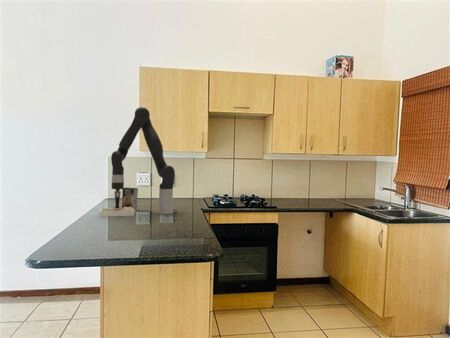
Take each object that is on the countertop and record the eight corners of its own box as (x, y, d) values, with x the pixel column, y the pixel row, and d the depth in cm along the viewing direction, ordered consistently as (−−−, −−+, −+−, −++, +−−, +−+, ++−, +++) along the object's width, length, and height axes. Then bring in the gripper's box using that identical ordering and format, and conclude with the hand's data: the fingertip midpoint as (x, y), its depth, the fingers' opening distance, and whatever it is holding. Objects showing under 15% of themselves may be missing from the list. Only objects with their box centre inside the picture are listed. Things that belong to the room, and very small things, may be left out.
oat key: (131, 211, 213) (131, 207, 212) (131, 212, 208) (131, 208, 208) (123, 211, 211) (123, 207, 211) (123, 213, 206) (123, 208, 206)
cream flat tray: (133, 213, 214) (133, 208, 214) (134, 215, 207) (134, 210, 207) (100, 214, 208) (100, 209, 207) (99, 216, 200) (99, 211, 200)
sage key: (110, 211, 208) (111, 207, 208) (110, 213, 203) (110, 208, 203) (102, 212, 207) (102, 207, 207) (102, 213, 202) (102, 208, 202)
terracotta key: (121, 211, 210) (121, 207, 210) (121, 213, 206) (121, 208, 205) (113, 211, 209) (113, 207, 209) (112, 213, 204) (113, 208, 204)
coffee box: (121, 210, 225) (121, 187, 225) (126, 209, 232) (126, 187, 231) (132, 211, 223) (133, 188, 223) (137, 209, 229) (138, 187, 229)
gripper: (124, 182, 201) (123, 209, 202) (123, 180, 214) (123, 206, 214) (111, 182, 199) (110, 209, 199) (111, 180, 211) (111, 206, 212)
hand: (117, 207), depth 207 cm, fingers closed
